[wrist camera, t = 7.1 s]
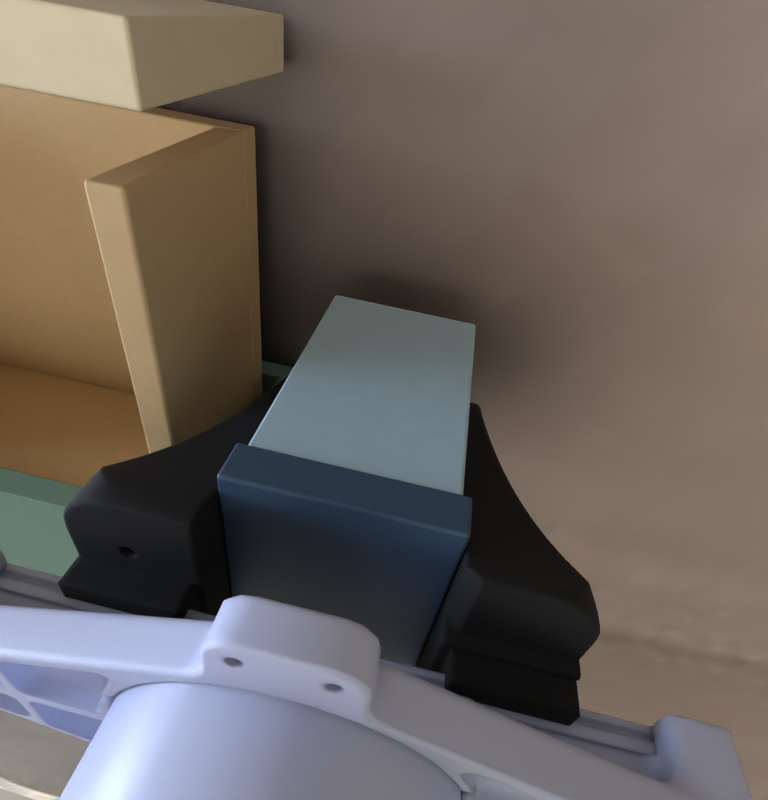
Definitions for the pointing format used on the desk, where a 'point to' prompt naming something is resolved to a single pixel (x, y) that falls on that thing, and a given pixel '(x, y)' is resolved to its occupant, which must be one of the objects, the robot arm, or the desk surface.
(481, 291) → the desk surface
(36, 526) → the cabinet
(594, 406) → the desk surface
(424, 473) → the container
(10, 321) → the drawer
